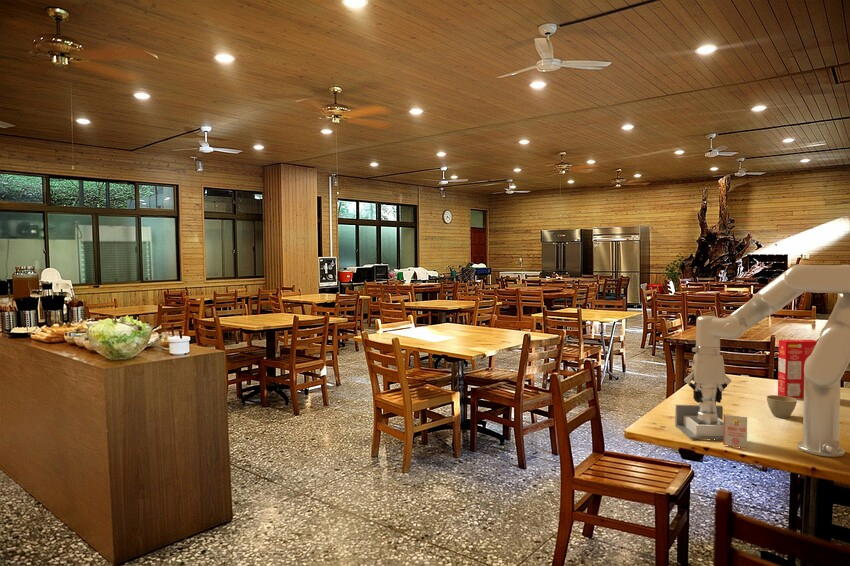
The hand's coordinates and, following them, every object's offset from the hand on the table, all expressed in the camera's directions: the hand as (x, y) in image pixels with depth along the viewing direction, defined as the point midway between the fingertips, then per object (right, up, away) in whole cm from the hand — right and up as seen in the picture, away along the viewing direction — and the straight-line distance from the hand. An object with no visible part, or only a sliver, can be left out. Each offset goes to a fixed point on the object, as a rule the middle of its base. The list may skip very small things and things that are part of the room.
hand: (707, 401), depth 202 cm
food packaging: (+65, -9, +51) cm, 83 cm away
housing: (0, -11, +1) cm, 11 cm away
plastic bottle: (0, -9, 0) cm, 9 cm away
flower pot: (+39, -10, +21) cm, 46 cm away
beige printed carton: (+3, -12, -13) cm, 18 cm away
